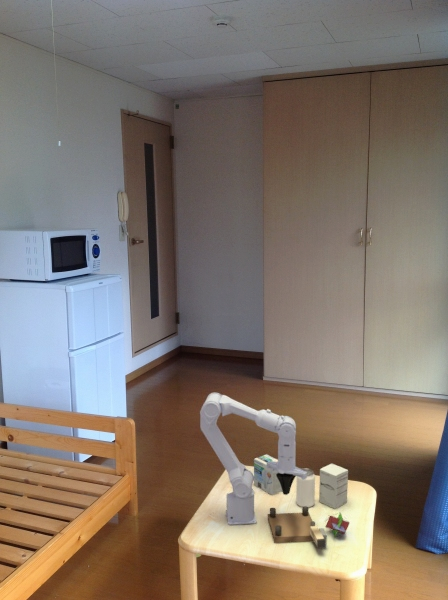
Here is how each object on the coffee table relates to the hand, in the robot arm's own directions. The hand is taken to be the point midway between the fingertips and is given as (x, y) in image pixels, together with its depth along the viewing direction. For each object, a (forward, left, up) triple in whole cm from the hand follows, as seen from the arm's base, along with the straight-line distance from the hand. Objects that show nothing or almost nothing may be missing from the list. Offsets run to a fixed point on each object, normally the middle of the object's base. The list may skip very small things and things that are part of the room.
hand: (286, 493), depth 187 cm
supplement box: (+19, +11, -10) cm, 24 cm away
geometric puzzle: (+15, -9, -10) cm, 20 cm away
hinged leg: (+7, -15, -8) cm, 18 cm away
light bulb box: (-2, +24, -10) cm, 26 cm away
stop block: (+9, -15, -10) cm, 20 cm away
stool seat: (+1, -6, -10) cm, 11 cm away
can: (+9, +11, -10) cm, 17 cm away
